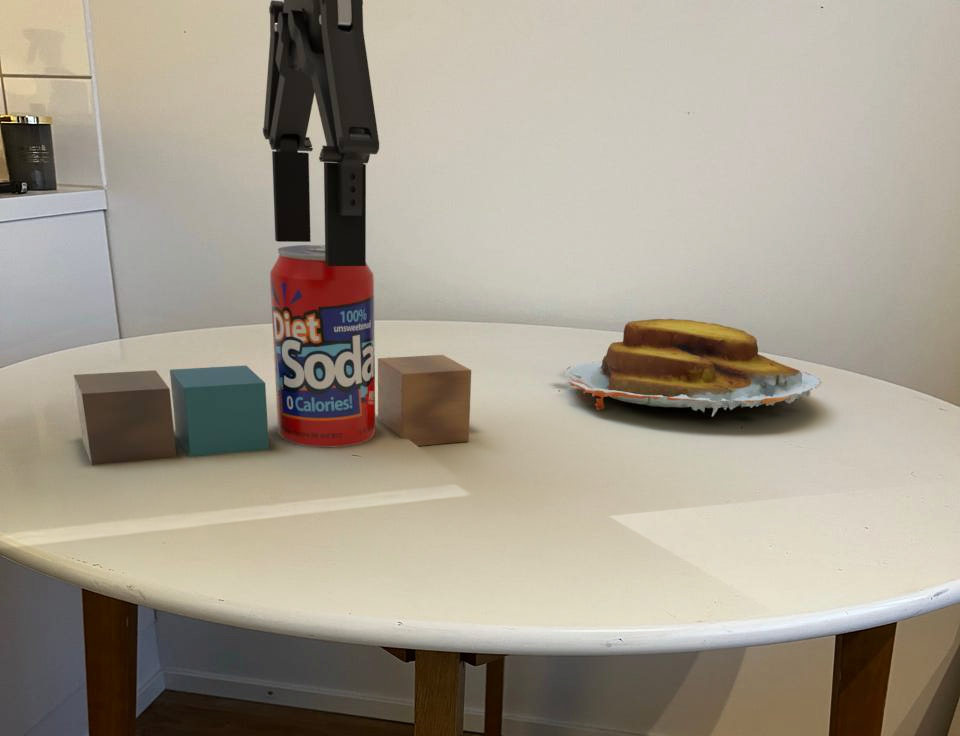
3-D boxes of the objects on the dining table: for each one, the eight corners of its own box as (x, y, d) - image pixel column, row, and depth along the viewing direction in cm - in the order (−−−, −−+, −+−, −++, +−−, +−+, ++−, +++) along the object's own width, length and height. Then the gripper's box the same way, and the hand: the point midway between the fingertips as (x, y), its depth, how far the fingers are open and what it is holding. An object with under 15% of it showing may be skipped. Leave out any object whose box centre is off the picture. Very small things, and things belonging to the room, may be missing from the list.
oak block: (402, 447, 83) (402, 374, 80) (377, 428, 88) (377, 358, 85) (469, 441, 85) (471, 369, 83) (441, 423, 90) (443, 354, 88)
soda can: (353, 426, 88) (350, 241, 81) (390, 451, 82) (390, 254, 75) (266, 435, 85) (254, 243, 78) (297, 462, 79) (288, 256, 72)
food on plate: (593, 434, 89) (600, 358, 86) (537, 371, 111) (541, 308, 108) (864, 433, 93) (880, 360, 90) (758, 371, 114) (768, 311, 111)
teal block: (191, 467, 77) (183, 387, 74) (176, 445, 81) (169, 369, 79) (269, 460, 79) (265, 382, 76) (251, 438, 84) (246, 365, 81)
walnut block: (93, 476, 74) (81, 393, 71) (84, 452, 79) (73, 374, 76) (177, 468, 76) (169, 388, 73) (164, 446, 81) (156, 370, 78)
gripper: (436, -111, 58) (425, 277, 68) (312, -62, 78) (317, 233, 88) (309, -130, 55) (317, 278, 65) (214, -74, 75) (230, 232, 85)
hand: (317, 253), depth 77 cm, fingers open, 13 cm apart
